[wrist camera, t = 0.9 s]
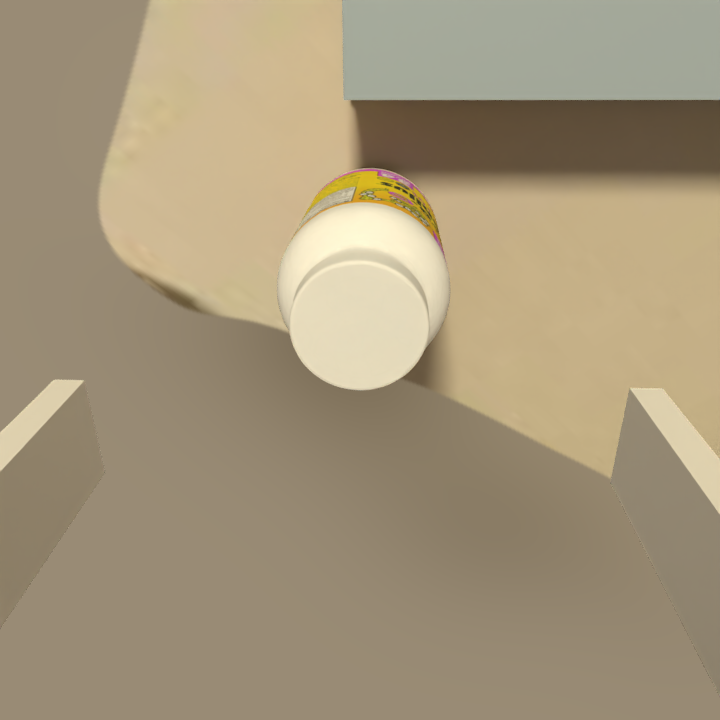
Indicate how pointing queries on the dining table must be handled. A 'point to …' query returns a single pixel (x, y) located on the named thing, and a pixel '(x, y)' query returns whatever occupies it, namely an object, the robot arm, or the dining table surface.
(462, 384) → the dining table surface
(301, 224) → the supplement bottle
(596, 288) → the dining table surface
